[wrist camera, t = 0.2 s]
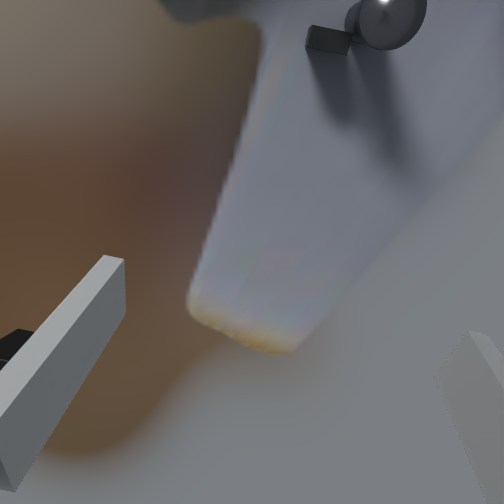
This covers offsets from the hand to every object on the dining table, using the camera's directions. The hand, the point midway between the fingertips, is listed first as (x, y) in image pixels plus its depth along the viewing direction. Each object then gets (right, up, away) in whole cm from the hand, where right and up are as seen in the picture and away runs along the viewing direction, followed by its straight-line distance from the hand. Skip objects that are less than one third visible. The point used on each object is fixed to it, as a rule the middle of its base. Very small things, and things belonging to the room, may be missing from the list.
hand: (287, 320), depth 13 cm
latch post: (+7, +23, +17) cm, 30 cm away
